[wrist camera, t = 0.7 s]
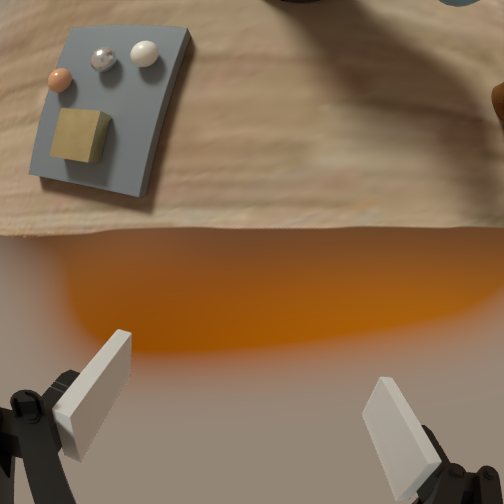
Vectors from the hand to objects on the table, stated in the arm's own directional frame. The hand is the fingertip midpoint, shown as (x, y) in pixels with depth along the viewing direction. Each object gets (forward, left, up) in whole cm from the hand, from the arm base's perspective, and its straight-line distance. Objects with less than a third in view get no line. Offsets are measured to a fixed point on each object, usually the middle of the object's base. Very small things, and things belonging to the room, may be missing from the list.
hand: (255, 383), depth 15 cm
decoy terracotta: (-18, -30, -20) cm, 41 cm away
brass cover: (-11, -24, -22) cm, 34 cm away
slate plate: (-16, -24, -25) cm, 38 cm away
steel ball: (-21, -24, -20) cm, 38 cm away
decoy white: (-22, -19, -20) cm, 35 cm away
